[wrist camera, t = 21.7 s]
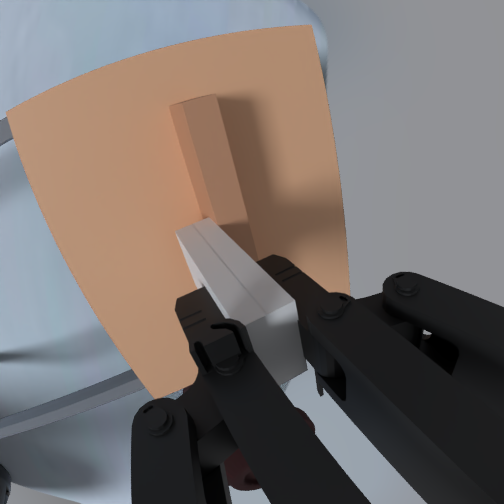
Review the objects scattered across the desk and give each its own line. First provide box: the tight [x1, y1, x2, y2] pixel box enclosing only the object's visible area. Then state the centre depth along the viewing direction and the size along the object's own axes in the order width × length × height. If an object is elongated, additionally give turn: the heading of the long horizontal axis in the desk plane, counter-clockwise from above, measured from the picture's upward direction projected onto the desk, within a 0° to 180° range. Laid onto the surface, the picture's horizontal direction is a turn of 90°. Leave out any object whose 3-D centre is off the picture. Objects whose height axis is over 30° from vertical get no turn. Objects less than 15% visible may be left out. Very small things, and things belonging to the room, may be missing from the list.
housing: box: [0, 117, 146, 439], centre depth 18 cm, size 32×17×10 cm, turn 104°
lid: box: [6, 25, 350, 399], centre depth 14 cm, size 14×17×4 cm
